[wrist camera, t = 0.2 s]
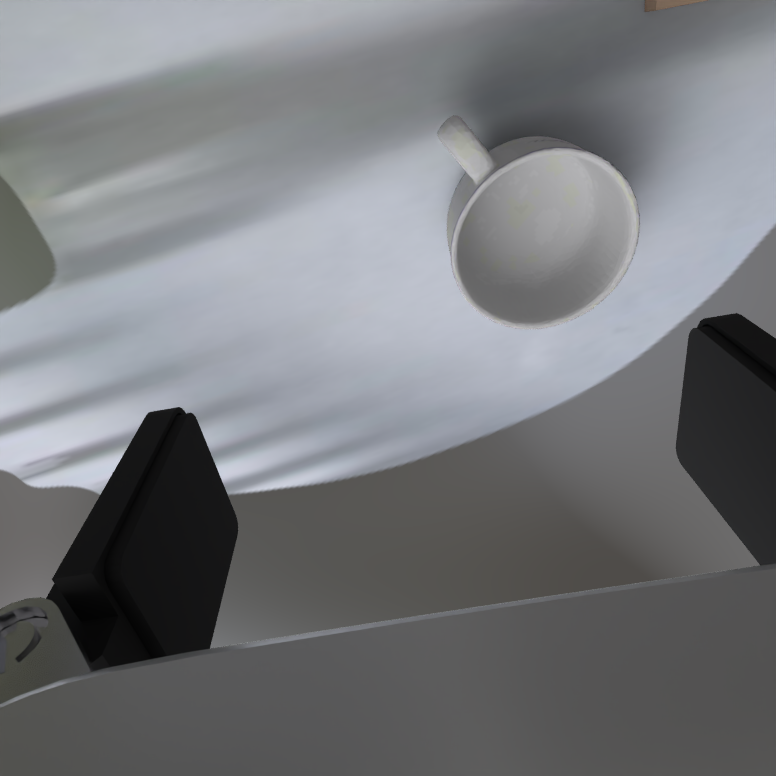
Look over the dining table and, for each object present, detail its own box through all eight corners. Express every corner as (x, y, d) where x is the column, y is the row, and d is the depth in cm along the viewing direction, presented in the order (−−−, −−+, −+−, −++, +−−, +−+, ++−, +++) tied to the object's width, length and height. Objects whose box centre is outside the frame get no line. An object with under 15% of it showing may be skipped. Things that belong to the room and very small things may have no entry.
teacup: (614, 236, 41) (666, 274, 34) (479, 313, 43) (502, 363, 36) (532, 43, 34) (576, 41, 28) (381, 147, 37) (386, 169, 30)
